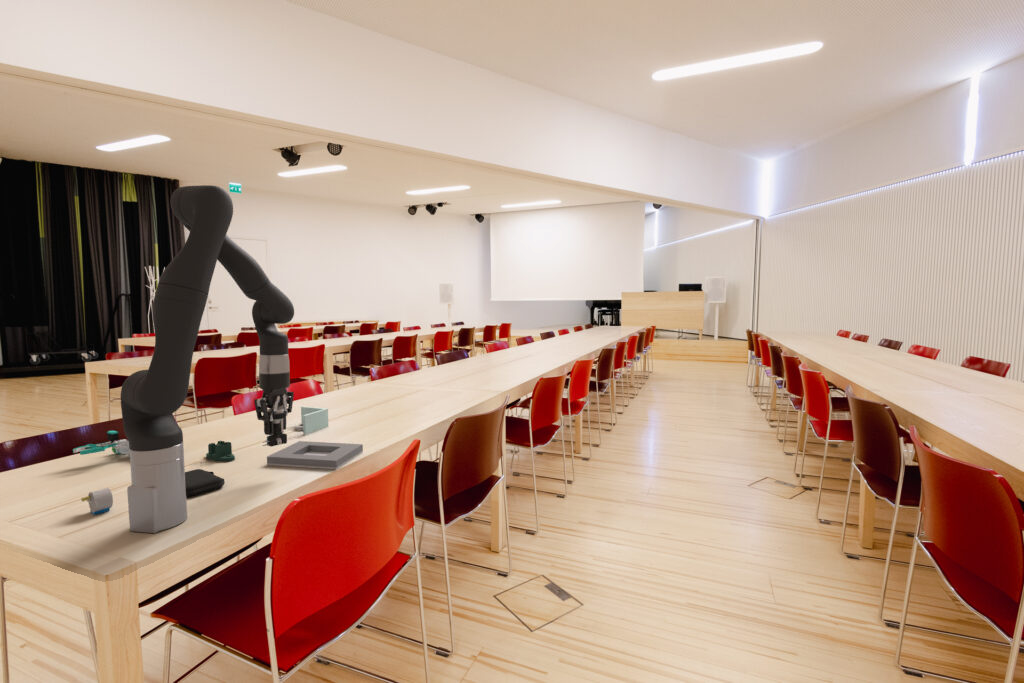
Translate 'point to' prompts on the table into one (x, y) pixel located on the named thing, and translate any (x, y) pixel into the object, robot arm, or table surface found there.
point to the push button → (277, 429)
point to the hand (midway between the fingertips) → (275, 431)
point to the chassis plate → (315, 455)
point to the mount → (220, 452)
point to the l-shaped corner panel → (312, 419)
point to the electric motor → (99, 501)
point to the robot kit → (106, 445)
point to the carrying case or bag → (201, 482)
